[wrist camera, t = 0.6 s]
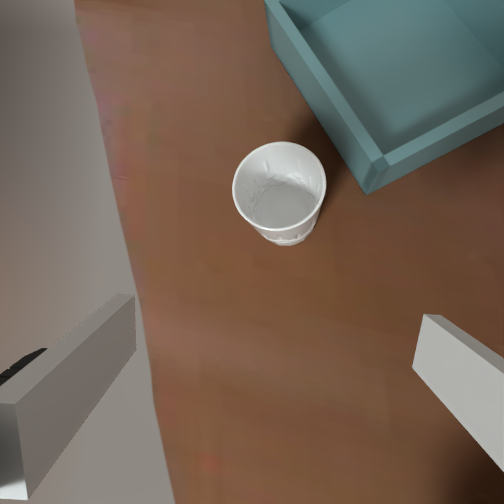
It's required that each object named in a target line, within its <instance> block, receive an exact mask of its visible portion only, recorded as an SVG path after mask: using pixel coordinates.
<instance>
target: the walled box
mask: <svg viewBox="0 0 504 504" xmlns="http://www.w3.org/2000/svg"><path fill="white" fill-rule="evenodd" d="M264 3H265V10H266V17H267V23H268V30H269V37H270V44H271V47H272V49H273V50H274V52H275V53H276V55H277V56H278V58H279V60H280V61H281V63H282V64H283V66H284V68H285V69H286V71H287V72H288V74H289V75H290V77H291V79H292V80H293V82H294V83H295V85H296V86H297V88H298V90H299V91H300V93H301V94H302V96H303V97H304V99H305V101H306V102H307V104H308V105H309V107H310V108H311V110H312V112H313V113H314V115H315V116H316V118H317V119H318V121H319V123H320V124H321V126H322V127H323V129H324V130H325V132H326V134H327V135H328V137H329V138H330V140H331V141H332V143H333V145H334V146H335V148H336V149H337V151H338V152H339V154H340V156H341V157H342V159H343V160H344V162H345V163H346V165H347V167H348V168H349V170H350V171H351V173H352V174H353V176H354V178H355V179H356V181H357V182H358V184H359V185H360V187H361V189H362V190H363V192H364V193H365V195H368V194H370V193H371V192H373V191H375V190H377V189H379V188H381V187H383V186H385V185H387V184H389V183H391V182H392V181H394V180H396V179H398V178H400V177H402V176H404V175H406V174H408V173H410V172H412V171H414V170H415V169H417V168H419V167H421V166H423V165H425V164H427V163H429V162H431V161H433V160H435V159H436V158H438V157H440V156H442V155H444V154H446V153H448V152H450V151H452V150H454V149H456V148H458V147H459V146H461V145H463V144H465V143H467V142H469V141H471V140H473V139H475V138H477V137H479V136H480V135H482V134H484V133H486V132H488V131H490V130H492V129H494V128H496V127H498V126H500V125H502V124H503V123H504V0H264Z"/></svg>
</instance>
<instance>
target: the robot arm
mask: <svg viewBox="0 0 504 504" xmlns="http://www.w3.org/2000/svg"><path fill="white" fill-rule="evenodd" d="M135 350H136V330H135V295H130V294H117V295H115V296H114V297H113V298H112V299H110V300H109V301H108V302H106V303H105V304H104V305H103V306H101V307H100V308H99V309H98V310H96V311H95V312H94V313H93V314H91V315H90V316H89V317H87V318H86V319H85V320H84V321H82V322H81V323H80V324H79V325H77V326H76V327H75V328H74V329H72V330H71V331H70V332H68V333H67V334H66V335H65V336H63V337H62V338H61V339H60V340H58V341H57V342H56V343H54V344H53V345H52V346H51V347H49V348H41V349H39V350H37V351H35V352H33V353H31V354H28V355H26V356H24V357H23V358H21V359H20V360H19V361H18V362H16V363H15V364H13V365H12V366H11V367H10V369H7V370H5V371H4V372H3V373H1V374H0V498H3V499H21V500H28V499H29V498H30V496H31V495H32V493H33V492H34V491H35V489H36V488H37V487H38V485H39V484H40V482H41V481H42V480H43V478H44V477H45V475H46V474H47V473H48V471H49V470H50V468H51V467H52V466H53V464H54V463H55V461H56V460H57V459H58V457H59V456H60V454H61V453H62V452H63V450H64V449H65V448H66V446H67V445H68V444H69V442H70V441H71V439H72V438H73V436H74V435H75V433H76V432H77V431H78V430H79V428H80V427H81V425H82V424H83V423H84V421H85V420H86V419H87V417H88V416H89V414H90V413H91V412H92V410H93V409H94V407H95V406H96V404H97V403H98V402H99V400H100V399H101V398H102V396H103V395H104V394H105V392H106V391H107V389H108V388H109V386H110V385H111V384H112V382H113V381H114V380H115V378H116V377H117V375H118V374H119V373H120V371H121V370H122V368H123V367H124V366H125V364H126V363H127V362H128V360H129V359H130V357H131V356H132V355H133V353H134V352H135ZM412 368H413V369H414V370H415V371H416V373H417V374H418V375H419V376H420V377H421V378H422V379H423V381H424V382H425V383H426V384H427V385H428V386H429V387H430V389H431V390H432V391H433V392H434V393H435V394H436V395H437V396H438V398H439V399H440V400H441V401H442V402H443V403H444V404H445V406H446V407H447V408H448V409H449V410H450V411H451V412H452V414H453V415H454V416H455V417H456V418H457V419H458V420H459V422H460V423H461V424H462V425H463V426H464V427H465V428H466V430H467V431H468V432H469V433H470V434H471V435H472V436H473V438H474V439H475V440H476V441H477V442H478V443H479V444H480V446H481V447H482V448H483V449H484V450H485V451H486V452H487V454H488V455H489V456H490V457H491V458H492V459H493V460H494V462H495V463H496V464H497V465H498V466H499V467H500V468H501V469H502V471H503V472H504V358H502V357H501V356H499V355H498V354H496V353H495V352H493V351H492V350H490V349H489V348H488V347H486V346H485V345H483V344H482V343H480V342H479V341H477V340H476V339H474V338H473V337H472V336H470V335H469V334H467V333H466V332H464V331H463V330H461V329H460V328H458V327H457V326H456V325H454V324H453V323H451V322H450V321H448V320H447V319H445V318H444V317H442V316H441V315H431V314H424V315H423V320H422V325H421V329H420V334H419V338H418V343H417V347H416V352H415V357H414V361H413V366H412Z"/></svg>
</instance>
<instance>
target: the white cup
mask: <svg viewBox="0 0 504 504" xmlns="http://www.w3.org/2000/svg"><path fill="white" fill-rule="evenodd" d="M325 191H326V176H325V172H324V169H323V166H322V164H321V163H320V161H319V160H318V158H317V157H316V156H315V155H314V154H313V153H312V152H311V151H310V150H308V149H307V148H305V147H303V146H301V145H298V144H295V143H291V142H273V143H269V144H266V145H263V146H261V147H259V148H257V149H255V150H254V151H252V152H251V153H250V154H249V155H248V156H246V157H245V159H244V160H243V161H242V162H241V164H240V165H239V167H238V169H237V171H236V173H235V176H234V180H233V186H232V192H233V199H234V202H235V205H236V207H237V209H238V211H239V212H240V214H241V215H242V216H243V217H244V218H245V219H246V220H247V221H248V222H249V223H250V224H251V225H252V226H253V227H254V228H255V229H256V230H257V231H258V232H259V233H260V234H261V235H262V236H264V237H265V238H266V239H267V240H269V241H271V242H273V243H275V244H277V245H283V246H292V245H295V244H297V243H299V242H301V241H303V240H305V239H306V237H307V236H308V235H309V234H310V233H311V232H312V231H313V228H314V225H315V223H316V221H317V218H318V216H319V213H320V209H321V206H322V202H323V199H324V196H325Z"/></svg>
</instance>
